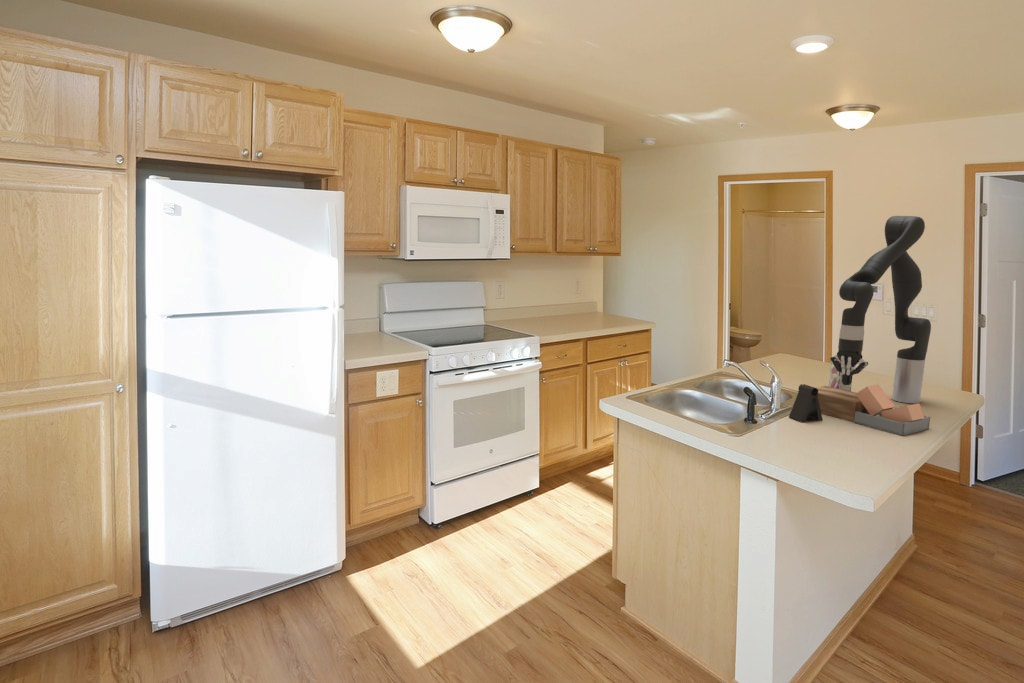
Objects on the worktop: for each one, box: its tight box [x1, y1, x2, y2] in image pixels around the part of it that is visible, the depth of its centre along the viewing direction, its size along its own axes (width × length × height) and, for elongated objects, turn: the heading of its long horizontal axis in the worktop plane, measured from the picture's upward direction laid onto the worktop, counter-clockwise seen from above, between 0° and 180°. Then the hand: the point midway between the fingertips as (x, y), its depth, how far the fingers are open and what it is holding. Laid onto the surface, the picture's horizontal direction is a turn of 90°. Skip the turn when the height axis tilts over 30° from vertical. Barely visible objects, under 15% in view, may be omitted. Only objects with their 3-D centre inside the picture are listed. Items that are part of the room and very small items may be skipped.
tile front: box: [881, 403, 925, 423], centre depth 194 cm, size 7×9×5 cm
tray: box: [853, 408, 931, 437], centre depth 197 cm, size 16×16×4 cm
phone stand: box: [788, 383, 823, 423], centre depth 203 cm, size 9×6×12 cm, turn 104°
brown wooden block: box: [815, 385, 878, 423], centre depth 213 cm, size 14×20×7 cm
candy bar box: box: [828, 360, 852, 392], centre depth 230 cm, size 11×5×16 cm, turn 168°
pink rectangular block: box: [856, 384, 896, 416], centre depth 201 cm, size 7×9×5 cm
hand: (846, 384), depth 210 cm, fingers closed
